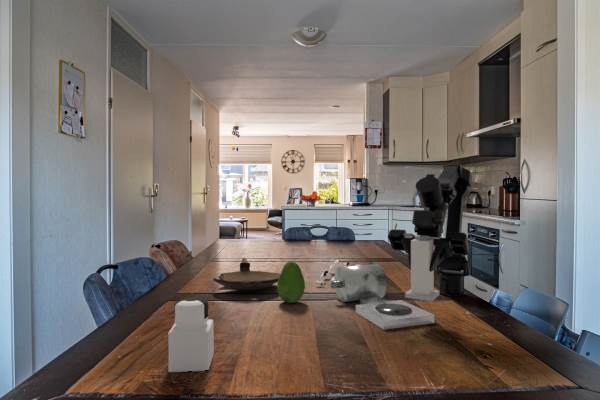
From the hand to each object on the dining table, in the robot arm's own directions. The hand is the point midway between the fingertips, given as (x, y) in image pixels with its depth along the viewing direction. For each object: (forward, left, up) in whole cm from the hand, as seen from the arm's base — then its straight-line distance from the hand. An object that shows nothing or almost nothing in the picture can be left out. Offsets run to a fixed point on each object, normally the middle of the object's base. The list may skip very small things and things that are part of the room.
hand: (420, 269), depth 94 cm
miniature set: (-6, -56, -14) cm, 58 cm away
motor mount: (+4, -16, -13) cm, 21 cm away
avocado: (+23, -30, -14) cm, 40 cm away
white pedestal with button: (-1, -1, -7) cm, 7 cm away
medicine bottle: (+53, +3, -14) cm, 54 cm away
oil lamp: (+30, -52, -14) cm, 61 cm away
